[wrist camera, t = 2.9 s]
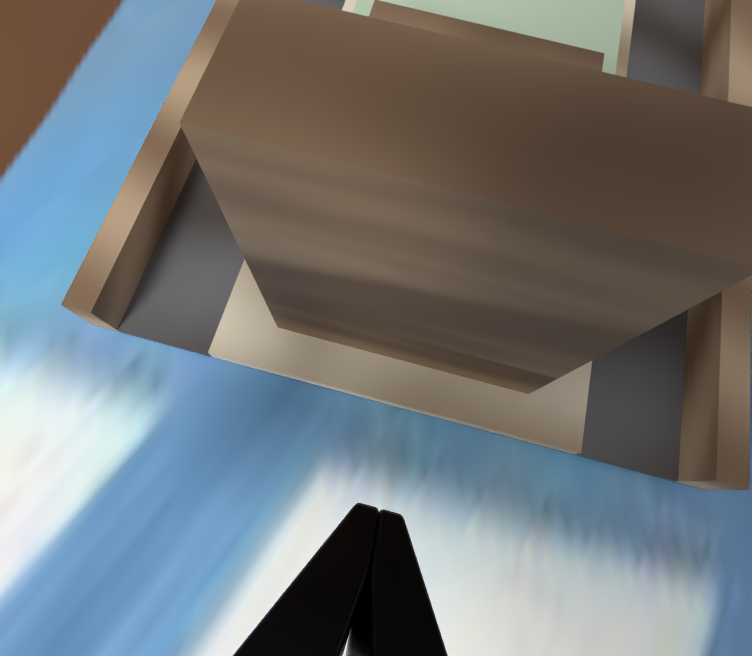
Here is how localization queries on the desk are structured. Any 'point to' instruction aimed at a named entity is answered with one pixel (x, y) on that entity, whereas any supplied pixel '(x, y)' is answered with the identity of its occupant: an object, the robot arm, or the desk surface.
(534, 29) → the pad
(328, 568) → the robot arm
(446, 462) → the desk surface
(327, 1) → the wooden rectangular frame
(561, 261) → the bookend
